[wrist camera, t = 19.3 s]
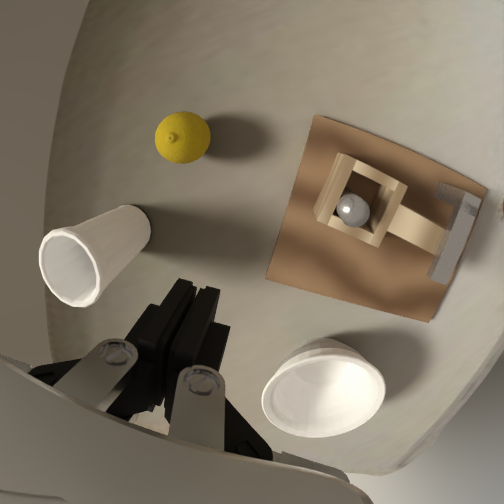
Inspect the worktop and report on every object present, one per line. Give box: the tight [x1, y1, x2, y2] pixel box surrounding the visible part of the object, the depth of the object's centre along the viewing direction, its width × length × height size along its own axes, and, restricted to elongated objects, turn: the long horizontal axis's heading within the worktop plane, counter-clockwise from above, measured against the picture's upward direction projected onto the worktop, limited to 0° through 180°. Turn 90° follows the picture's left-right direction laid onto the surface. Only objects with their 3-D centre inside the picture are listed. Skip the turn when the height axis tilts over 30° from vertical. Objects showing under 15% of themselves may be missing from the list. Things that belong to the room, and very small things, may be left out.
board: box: [265, 115, 487, 323], centre depth 35 cm, size 20×24×1 cm
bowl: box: [261, 338, 386, 438], centre depth 39 cm, size 16×16×9 cm
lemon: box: [155, 112, 211, 164], centre depth 31 cm, size 6×6×8 cm
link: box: [313, 153, 467, 262], centre depth 31 cm, size 17×7×5 cm, turn 69°
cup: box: [39, 205, 151, 307], centre depth 32 cm, size 8×8×14 cm
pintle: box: [335, 186, 370, 228], centre depth 31 cm, size 3×3×7 cm
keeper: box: [426, 181, 481, 285], centre depth 30 cm, size 10×2×7 cm, turn 165°
